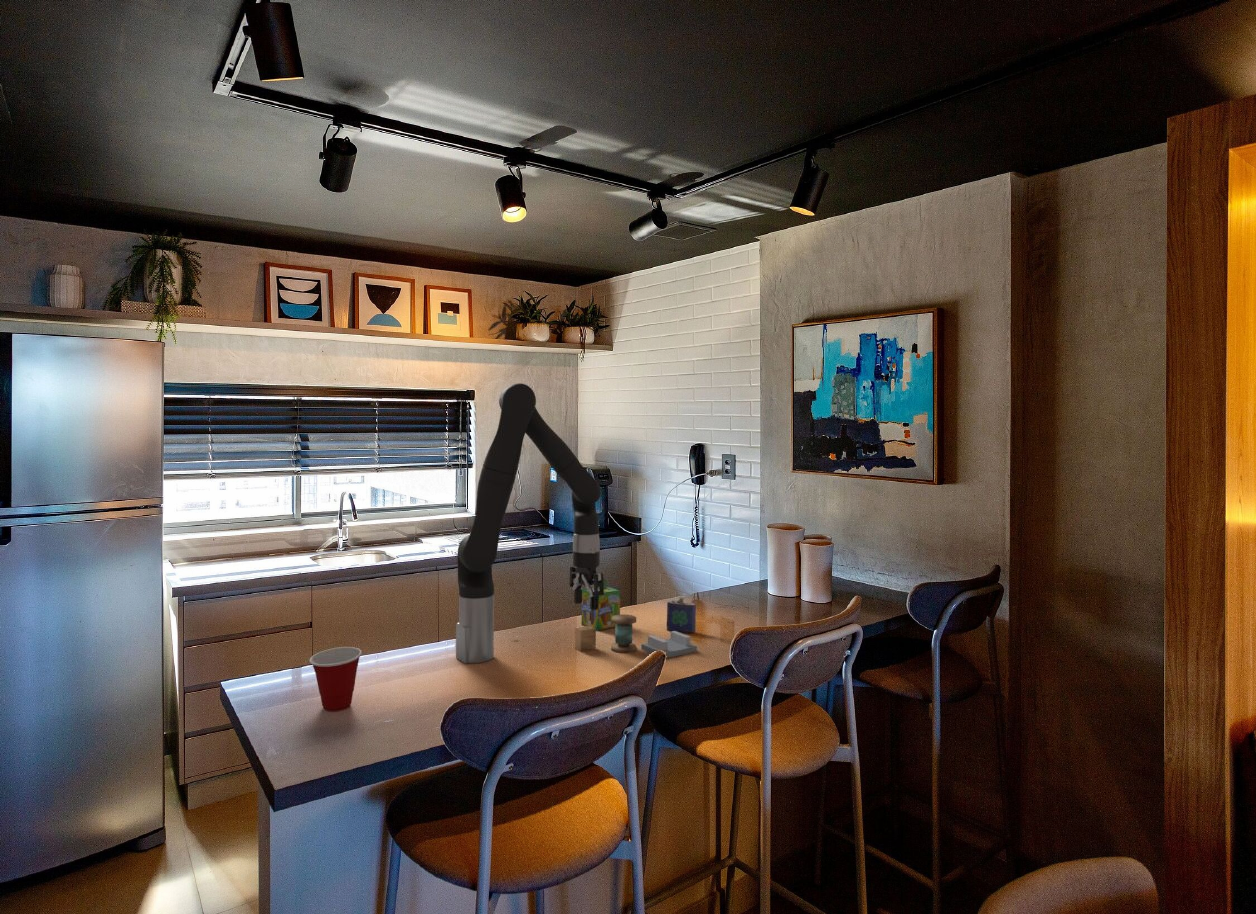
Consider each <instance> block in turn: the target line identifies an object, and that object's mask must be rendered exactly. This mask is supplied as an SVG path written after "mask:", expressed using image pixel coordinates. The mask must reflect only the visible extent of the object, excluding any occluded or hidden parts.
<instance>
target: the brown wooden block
mask: <svg viewBox="0 0 1256 914" xmlns="http://www.w3.org/2000/svg"><path fill="white" fill-rule="evenodd" d="M574 630H575V631H574V650H575V651H578V652H580V653H582V652H587V651H593V650H596V648H597V647H596V646H597V630H596V628H595V627H592V626H580V627H576V628H574Z"/></svg>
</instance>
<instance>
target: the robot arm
mask: <svg viewBox="0 0 1256 914" xmlns="http://www.w3.org/2000/svg"><path fill="white" fill-rule="evenodd" d="M536 404H537V398H536V394H535V392H534V390H533V388H532V387H530V386H529V385H527V384H526V383H519V382H518V383H514V384H513V383H512V384H510V385H508V386H507V387H505V388H504V389H503V390H501V392H500V394H499V399H498V405H499V407H500V409H501V411H500V416H499V421H498V425H497V430H496V433H495V435H494V437H493V440H492V442H491V444H490V445H489V448H488V450H487V453H486V456H485V458H484V461H483V463H482V467H481V470H480V475H479V477H478V478H479V479H478V483H477V490H476V502H475V503H476V504H475V506H476V507H475V515H474V520H473V523H472V527H471V530H470V533H469V535H467V536H465V537H464V538H462V540H461V541H460V542H459V545H458V547H457V583H458V584H457V585H458V622H456V623H455V658H456V659H458V661H460V662H462V663H463V664H479V663H485V662H489V661H491V660H492V659H494V657H495V655H494V654H495V647H494V646H495V645H494V644H495V641H494V640H495V639H494V638H495V637H494V635H495V625H494V624H495V584H494V583H495V582H494V580H493V579H494V578H493V570H492V569H493V565H494V563H495V562H496V559H497V553H498V548H499V540H500V535H501V529H502V528H501V527H502V524H503V520H504V517H505V514H506V511H507V509H508V506H509V501H510V498H511V495H512V491H513V488H514V484H515V480H516V477H517V473H518V468H519V463H520V459H521V455H522V449H523V448H522V447H523V443H524V439H525V434H526V436H528V438H529V439H530V440H531V441H532V443H533V444H534V445H535V447H536V448H537V449H538V451H539V452H540V453H541V455H542V456H543V457H544V459H545V460H546V462H547V463H548V464H549V465H550V467H552V469H553V470H554V473H556V474H557V476H558V477H559V478H560V479H562V480H563V481H564V482H565V483H566V484H567V486H568V488H570V489H571V500H572V501H571V502H572V508H573V509H572V510H573V538H572V539H573V540H572V566H570V568H569V587H570V588H572V590H573V591H574V595H573V596H574V597H573V601H574V604H576V605H577V604H582V589H583V587H584V586H585V588H587V590H589V592H590V595H591V597H590V609H591V610H597V609H598V606H599V603H598V602H599V596H600V595H603V594H604V583H603V578H604V573H603V572H601V573H599V572H598V573H597V568H598V567H599V566H600V556H601V554H600V553H601V551H600V547H601V545H600V544H601V543H600V542H601V541H600V529H599V528H600V523H599V522H600V521H599V520H600V518H599V515H598V513H597V507H596V506H597V502H598V501H599V500H600V498H601V496H602V490H601V486H600V484H599V483H598V481H597V480H596V479H595V478H594V477H593V475H592V474H591V473H590V472H589V471H588V469H586V468H585V467H584V466H583V465H582V463H581V462H580V460H579V459H578V458H577V456H576V455H575V453H574V452H573V451H572V449H571V448H570V447H569V445H567V443H565V441H564V440H563V439H562V438H561V437H560V436H559V435H558V434H557V433H556V432H555V431H554V430H553V429H552V428H551V427H550V426H549V425H548V423H546V421H545V420H544V418H543V417H542V416H541V414H540V412H539V411H538V409H537V407H536ZM598 587H600V591H599V589H598ZM593 589H594V592H593Z"/></svg>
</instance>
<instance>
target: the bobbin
mask: <svg viewBox="0 0 1256 914" xmlns="http://www.w3.org/2000/svg"><path fill="white" fill-rule="evenodd" d="M612 622H613V623H616V624H615V627H614V628H615V630H614V631H615V634H614V636H615V639H614V642H613V643H612V644H611V648H610V649H611V651H612V652H615V653H619V654H620V653H621V654H629V653H630V654H631V653H633V652H636V650H637V645H636V643H633V624H636V623H637V616H635V615H632V614H626V613H625V614H621V613H620V615H614V616H612Z"/></svg>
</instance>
